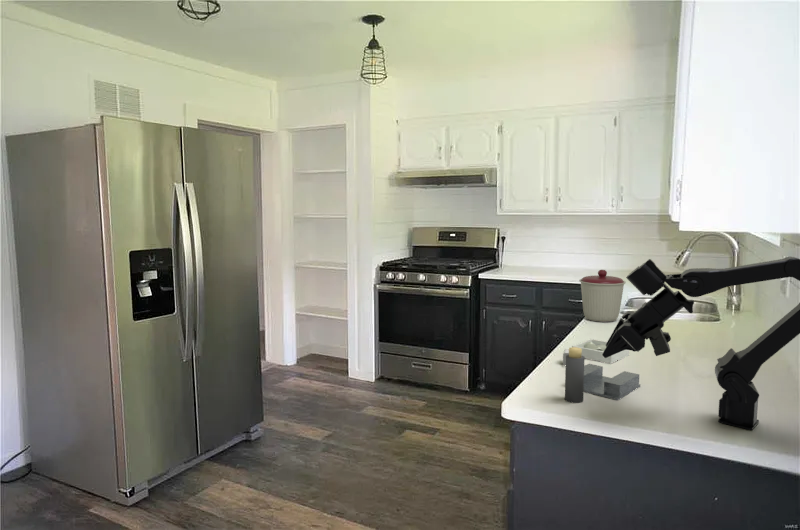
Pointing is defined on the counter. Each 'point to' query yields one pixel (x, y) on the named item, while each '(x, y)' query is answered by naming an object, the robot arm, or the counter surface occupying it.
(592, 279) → the canister
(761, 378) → the counter surface
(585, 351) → the parts tray
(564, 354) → the usb wall charger
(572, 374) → the grey and tan cylinder
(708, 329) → the counter surface
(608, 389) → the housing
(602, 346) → the pipe fitting
